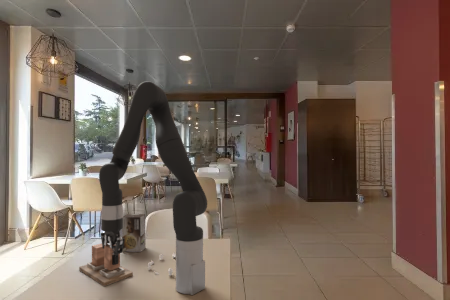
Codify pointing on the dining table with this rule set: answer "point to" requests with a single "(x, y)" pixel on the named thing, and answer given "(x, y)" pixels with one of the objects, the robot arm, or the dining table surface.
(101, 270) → the board
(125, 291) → the dining table surface
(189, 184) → the robot arm
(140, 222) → the coffee box
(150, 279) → the dining table surface
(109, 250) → the pin
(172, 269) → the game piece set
